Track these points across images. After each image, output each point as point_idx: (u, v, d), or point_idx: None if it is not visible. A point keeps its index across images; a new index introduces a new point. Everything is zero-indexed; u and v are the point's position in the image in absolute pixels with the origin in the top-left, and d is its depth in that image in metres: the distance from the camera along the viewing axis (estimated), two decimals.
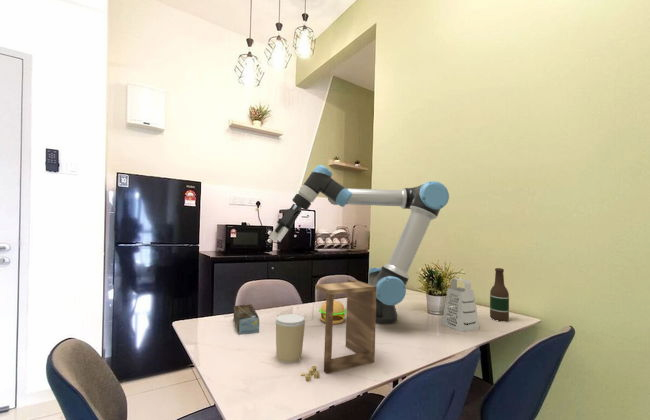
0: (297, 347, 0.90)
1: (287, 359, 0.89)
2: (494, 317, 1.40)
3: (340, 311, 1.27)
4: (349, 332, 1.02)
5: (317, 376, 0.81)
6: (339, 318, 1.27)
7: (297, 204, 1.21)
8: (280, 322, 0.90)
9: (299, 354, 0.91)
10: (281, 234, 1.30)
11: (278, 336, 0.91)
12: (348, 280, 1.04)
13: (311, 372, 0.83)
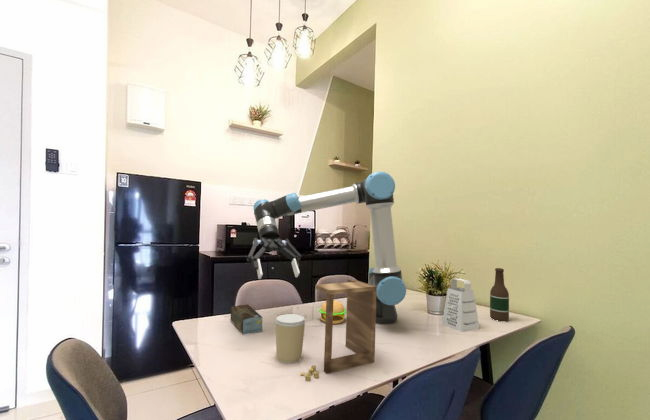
0: (297, 347, 0.90)
1: (287, 359, 0.89)
2: (494, 317, 1.40)
3: (340, 311, 1.27)
4: (349, 332, 1.02)
5: (316, 376, 0.81)
6: (339, 318, 1.27)
7: (260, 239, 1.13)
8: (280, 322, 0.90)
9: (299, 354, 0.91)
10: (294, 268, 1.09)
11: (278, 336, 0.91)
12: (348, 280, 1.04)
13: (311, 372, 0.83)
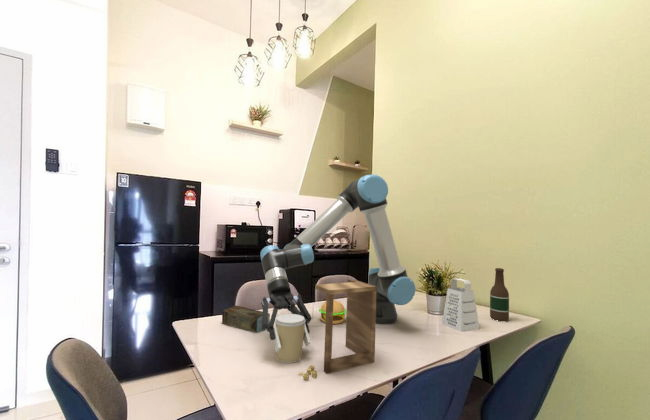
0: (297, 347, 0.90)
1: (287, 359, 0.89)
2: (494, 317, 1.40)
3: (340, 311, 1.27)
4: (349, 332, 1.02)
5: (315, 375, 0.81)
6: (339, 318, 1.27)
7: None
8: (280, 322, 0.90)
9: (299, 354, 0.91)
10: (304, 335, 0.95)
11: None
12: (348, 280, 1.04)
13: (309, 372, 0.83)
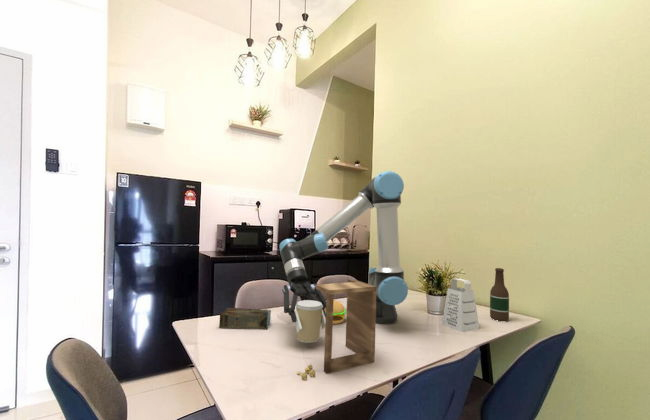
0: (316, 329, 1.01)
1: (307, 339, 1.00)
2: (494, 317, 1.40)
3: (340, 311, 1.27)
4: (349, 332, 1.02)
5: (313, 375, 0.81)
6: (339, 318, 1.27)
7: None
8: (301, 306, 1.01)
9: (317, 335, 1.02)
10: (321, 319, 1.05)
11: None
12: (348, 280, 1.04)
13: (307, 371, 0.83)
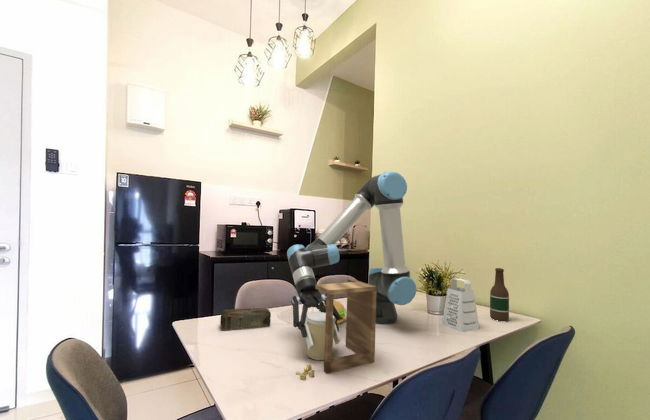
0: None
1: (319, 356, 0.91)
2: (494, 317, 1.40)
3: (340, 311, 1.27)
4: (349, 332, 1.02)
5: (312, 375, 0.82)
6: None
7: None
8: (312, 320, 0.92)
9: None
10: (334, 333, 0.97)
11: None
12: (348, 280, 1.04)
13: (306, 371, 0.83)
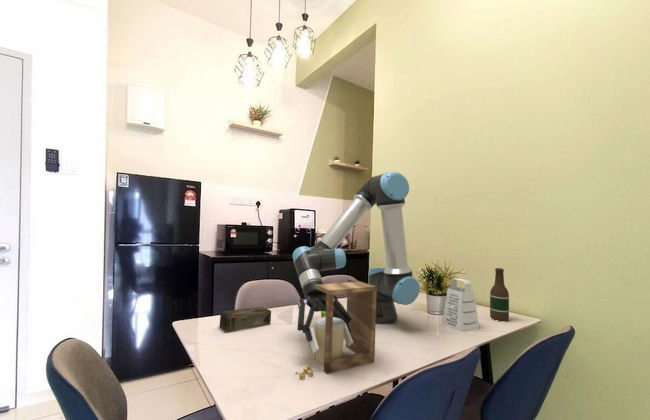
0: (338, 350, 0.89)
1: None
2: (494, 317, 1.40)
3: None
4: None
5: (311, 375, 0.82)
6: None
7: (305, 297, 0.99)
8: (321, 325, 0.89)
9: None
10: (346, 335, 0.94)
11: (319, 339, 0.89)
12: (348, 280, 1.04)
13: (305, 371, 0.83)
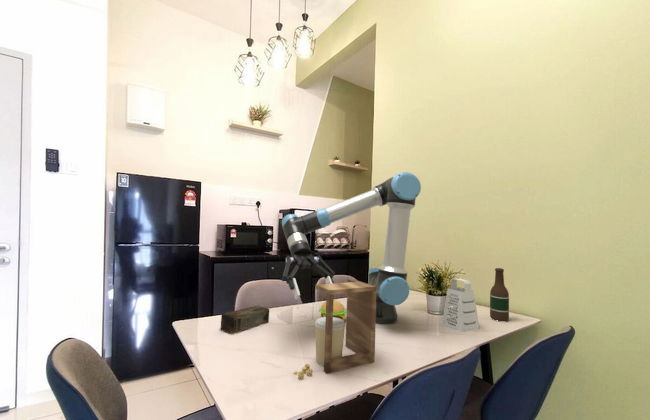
0: (338, 350, 0.89)
1: None
2: (494, 317, 1.40)
3: (340, 311, 1.27)
4: (349, 332, 1.02)
5: (310, 374, 0.82)
6: None
7: (292, 256, 1.11)
8: (321, 325, 0.89)
9: None
10: None
11: (319, 339, 0.89)
12: (348, 280, 1.04)
13: (304, 370, 0.83)
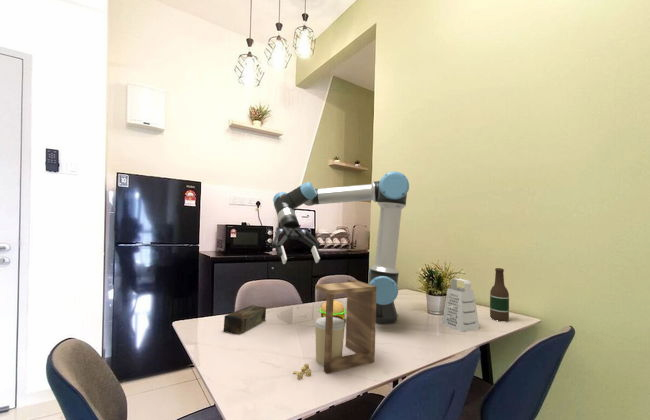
0: (338, 350, 0.89)
1: None
2: (494, 317, 1.40)
3: (340, 311, 1.27)
4: (349, 332, 1.02)
5: (309, 374, 0.82)
6: None
7: (282, 228, 1.22)
8: (321, 325, 0.89)
9: None
10: (314, 254, 1.17)
11: (319, 339, 0.89)
12: (348, 280, 1.04)
13: (303, 370, 0.83)
